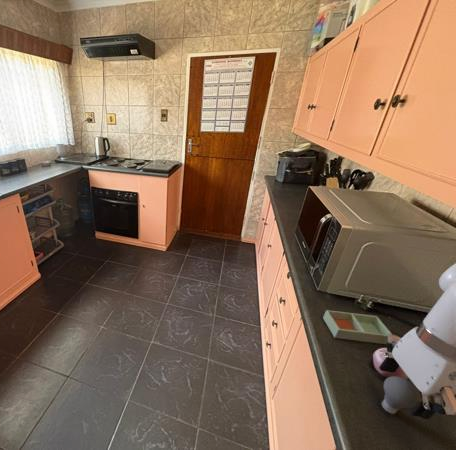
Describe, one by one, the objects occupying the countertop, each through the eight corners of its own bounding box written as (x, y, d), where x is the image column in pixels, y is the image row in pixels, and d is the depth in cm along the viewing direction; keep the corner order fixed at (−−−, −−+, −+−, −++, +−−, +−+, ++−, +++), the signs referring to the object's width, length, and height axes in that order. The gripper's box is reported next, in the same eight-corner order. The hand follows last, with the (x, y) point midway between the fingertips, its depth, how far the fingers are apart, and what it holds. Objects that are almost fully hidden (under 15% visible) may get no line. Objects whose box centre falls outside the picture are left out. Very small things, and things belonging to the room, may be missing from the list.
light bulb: (411, 423, 56) (434, 398, 52) (385, 423, 56) (407, 398, 52) (388, 395, 62) (408, 370, 57) (365, 395, 62) (383, 370, 57)
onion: (362, 355, 71) (373, 338, 68) (393, 361, 70) (405, 344, 67) (378, 383, 64) (391, 365, 61) (412, 390, 63) (427, 373, 60)
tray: (372, 323, 82) (376, 315, 80) (389, 344, 75) (394, 336, 73) (322, 317, 84) (326, 309, 82) (334, 337, 77) (338, 329, 75)
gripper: (518, 389, 40) (455, 441, 48) (428, 309, 55) (392, 358, 63) (466, 381, 41) (412, 433, 48) (391, 304, 56) (360, 353, 64)
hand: (401, 391), depth 56 cm, fingers open, 9 cm apart
